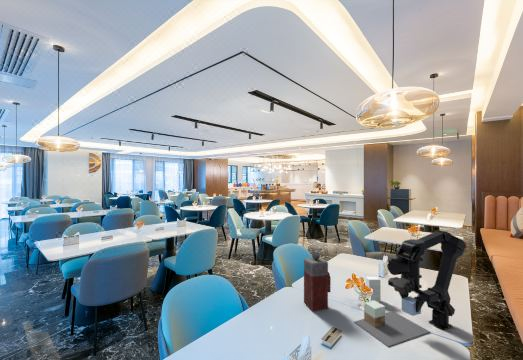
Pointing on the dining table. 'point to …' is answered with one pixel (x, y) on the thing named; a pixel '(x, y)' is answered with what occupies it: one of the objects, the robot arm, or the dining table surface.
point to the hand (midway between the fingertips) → (411, 309)
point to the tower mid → (374, 309)
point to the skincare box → (374, 287)
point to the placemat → (393, 329)
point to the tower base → (374, 320)
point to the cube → (409, 306)
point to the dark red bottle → (316, 282)
